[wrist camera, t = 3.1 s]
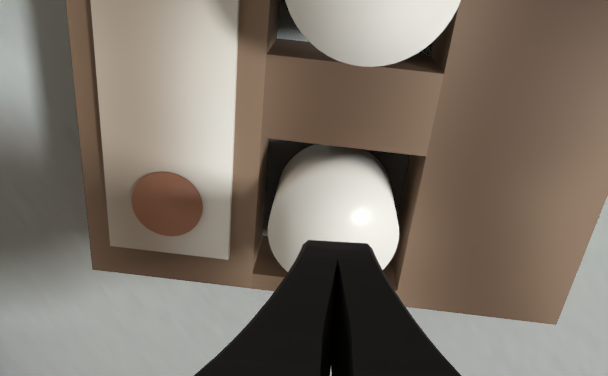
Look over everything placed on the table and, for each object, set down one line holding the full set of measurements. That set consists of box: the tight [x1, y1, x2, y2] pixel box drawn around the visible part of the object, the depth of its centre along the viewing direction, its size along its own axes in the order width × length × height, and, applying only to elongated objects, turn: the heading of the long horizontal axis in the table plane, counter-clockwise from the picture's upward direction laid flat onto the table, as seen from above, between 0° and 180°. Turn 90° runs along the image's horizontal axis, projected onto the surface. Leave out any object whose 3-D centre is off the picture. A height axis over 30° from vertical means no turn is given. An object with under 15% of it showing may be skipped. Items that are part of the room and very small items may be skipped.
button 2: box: [268, 144, 399, 272], centre depth 14 cm, size 3×3×2 cm
